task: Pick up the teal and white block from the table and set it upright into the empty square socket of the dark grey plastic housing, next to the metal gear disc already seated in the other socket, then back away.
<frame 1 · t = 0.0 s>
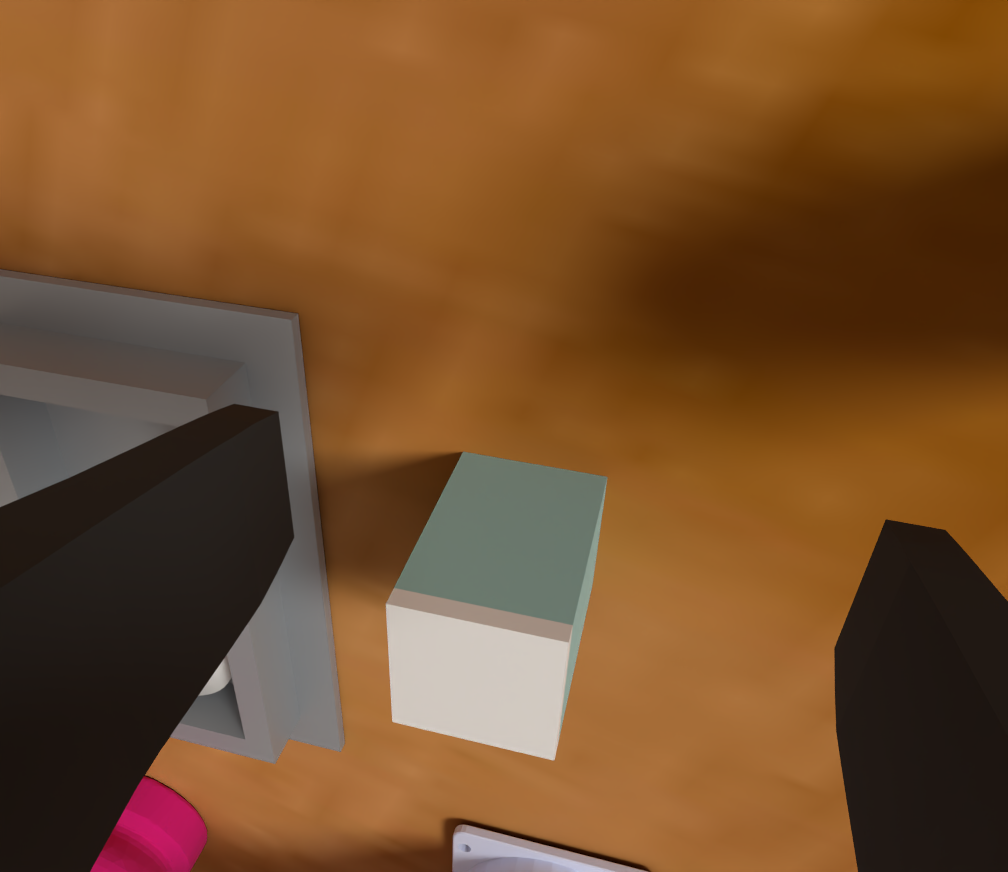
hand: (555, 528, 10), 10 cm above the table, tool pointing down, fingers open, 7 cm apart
teal and white block: (529, 520, 23), on the table
pepper mill: (150, 806, 38), on the table
housing: (172, 537, 27), on the table
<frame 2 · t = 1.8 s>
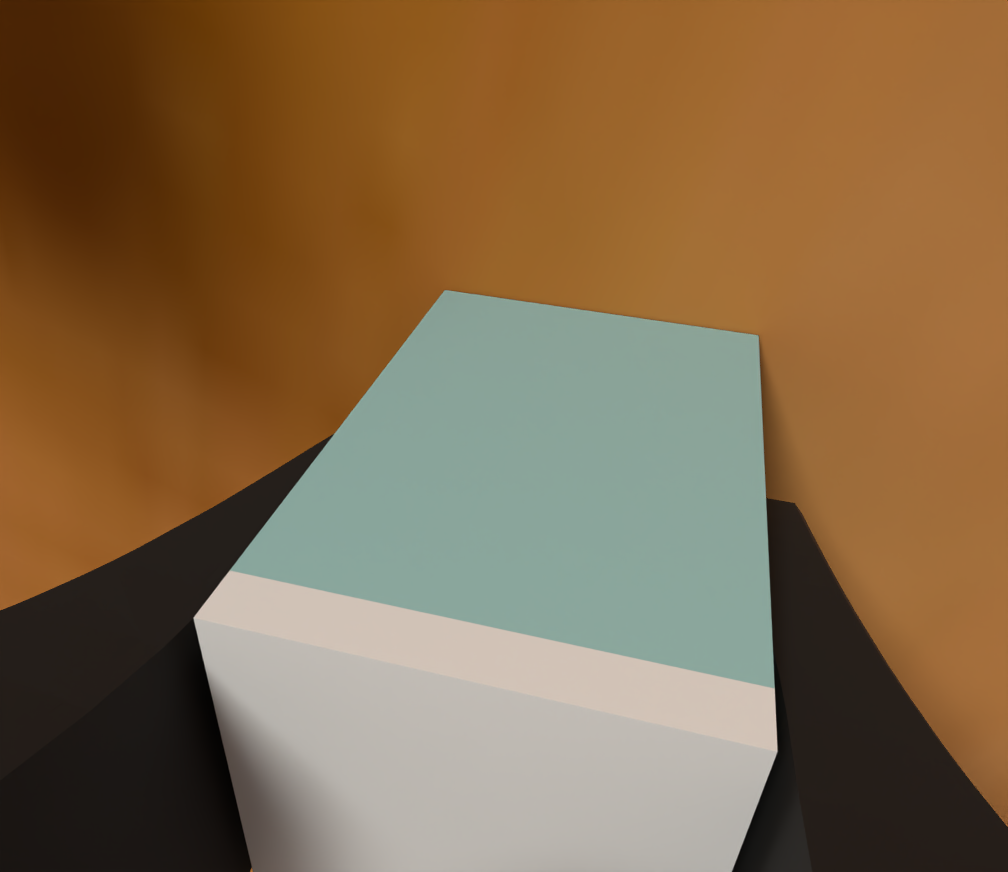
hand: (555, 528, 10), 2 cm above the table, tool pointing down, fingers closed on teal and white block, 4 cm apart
teal and white block: (580, 442, 11), on the table, touching gripper
when the fingers open (4 cm above the table, at t = 5.8 s): teal and white block drops 1 cm, resting on housing.
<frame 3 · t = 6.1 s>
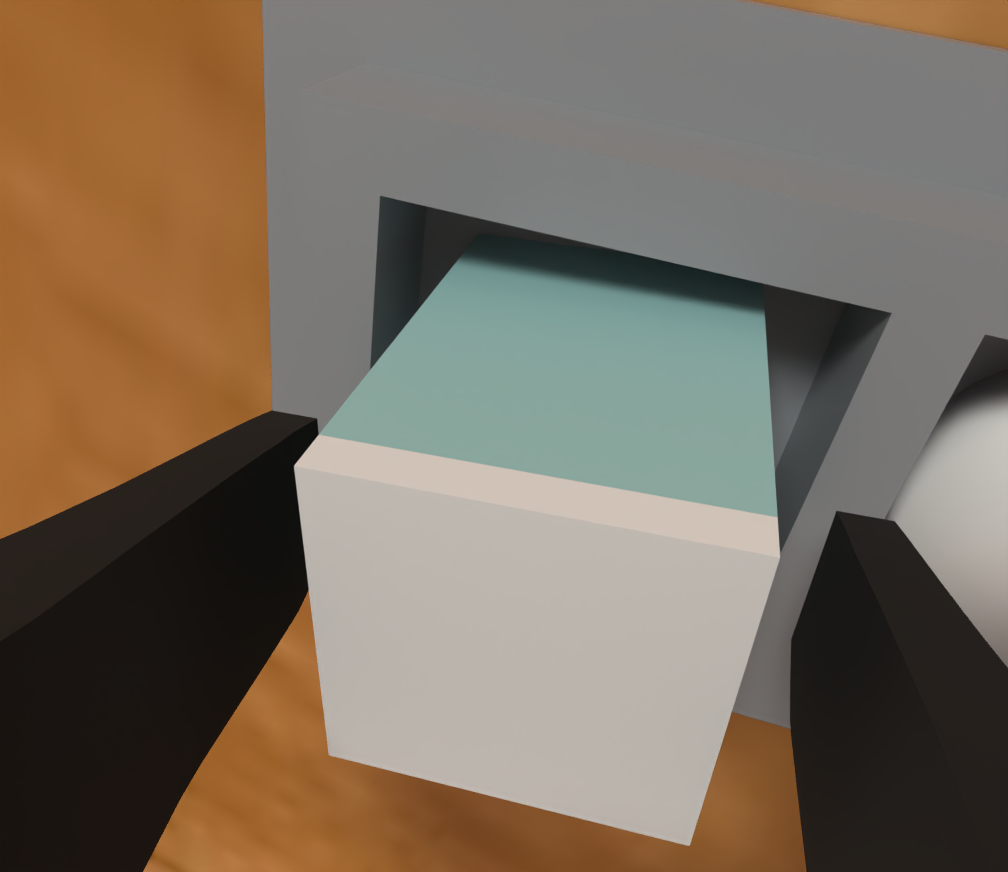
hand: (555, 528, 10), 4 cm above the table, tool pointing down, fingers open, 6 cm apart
teal and white block: (600, 375, 13), resting on housing
housing: (820, 430, 13), on the table
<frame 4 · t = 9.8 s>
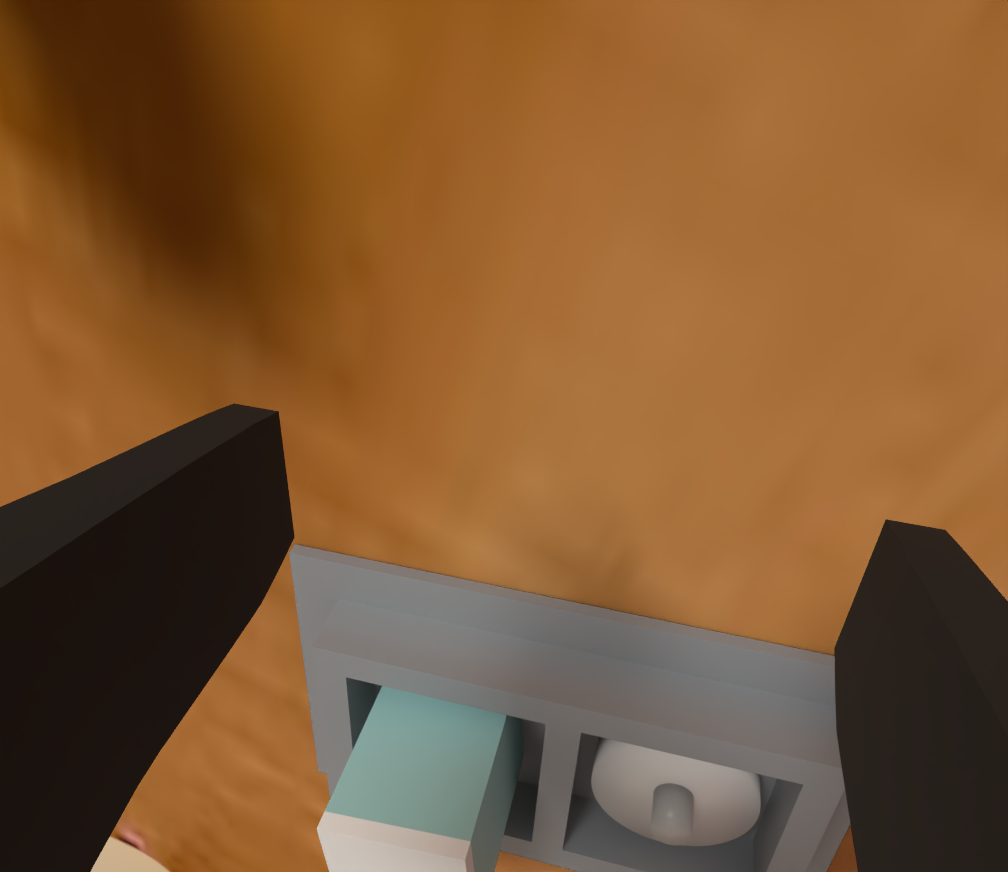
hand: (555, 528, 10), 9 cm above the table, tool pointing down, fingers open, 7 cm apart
teal and white block: (461, 706, 26), resting on housing
housing: (568, 725, 26), on the table
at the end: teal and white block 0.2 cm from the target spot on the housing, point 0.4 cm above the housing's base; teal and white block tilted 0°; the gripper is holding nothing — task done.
